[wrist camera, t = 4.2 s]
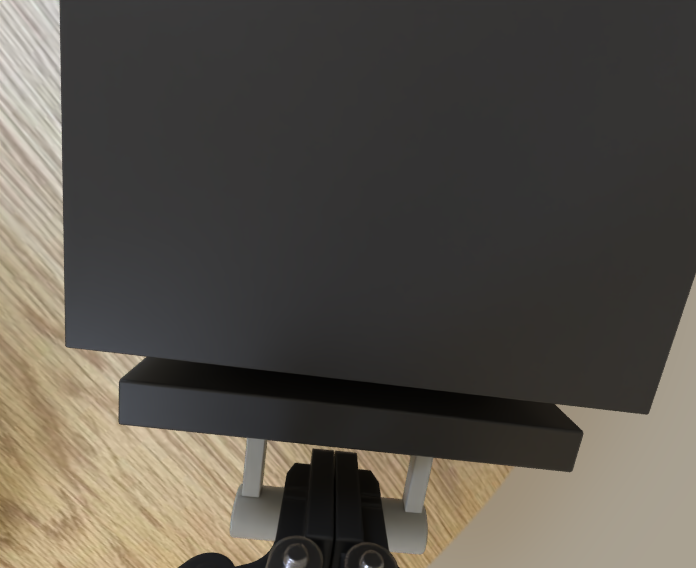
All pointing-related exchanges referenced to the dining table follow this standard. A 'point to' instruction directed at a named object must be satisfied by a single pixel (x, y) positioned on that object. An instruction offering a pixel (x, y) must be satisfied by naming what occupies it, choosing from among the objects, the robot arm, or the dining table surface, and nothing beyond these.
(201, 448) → the dining table surface
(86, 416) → the dining table surface
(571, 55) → the black drawer unit
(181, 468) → the dining table surface
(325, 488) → the robot arm
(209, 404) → the pull-out drawer
